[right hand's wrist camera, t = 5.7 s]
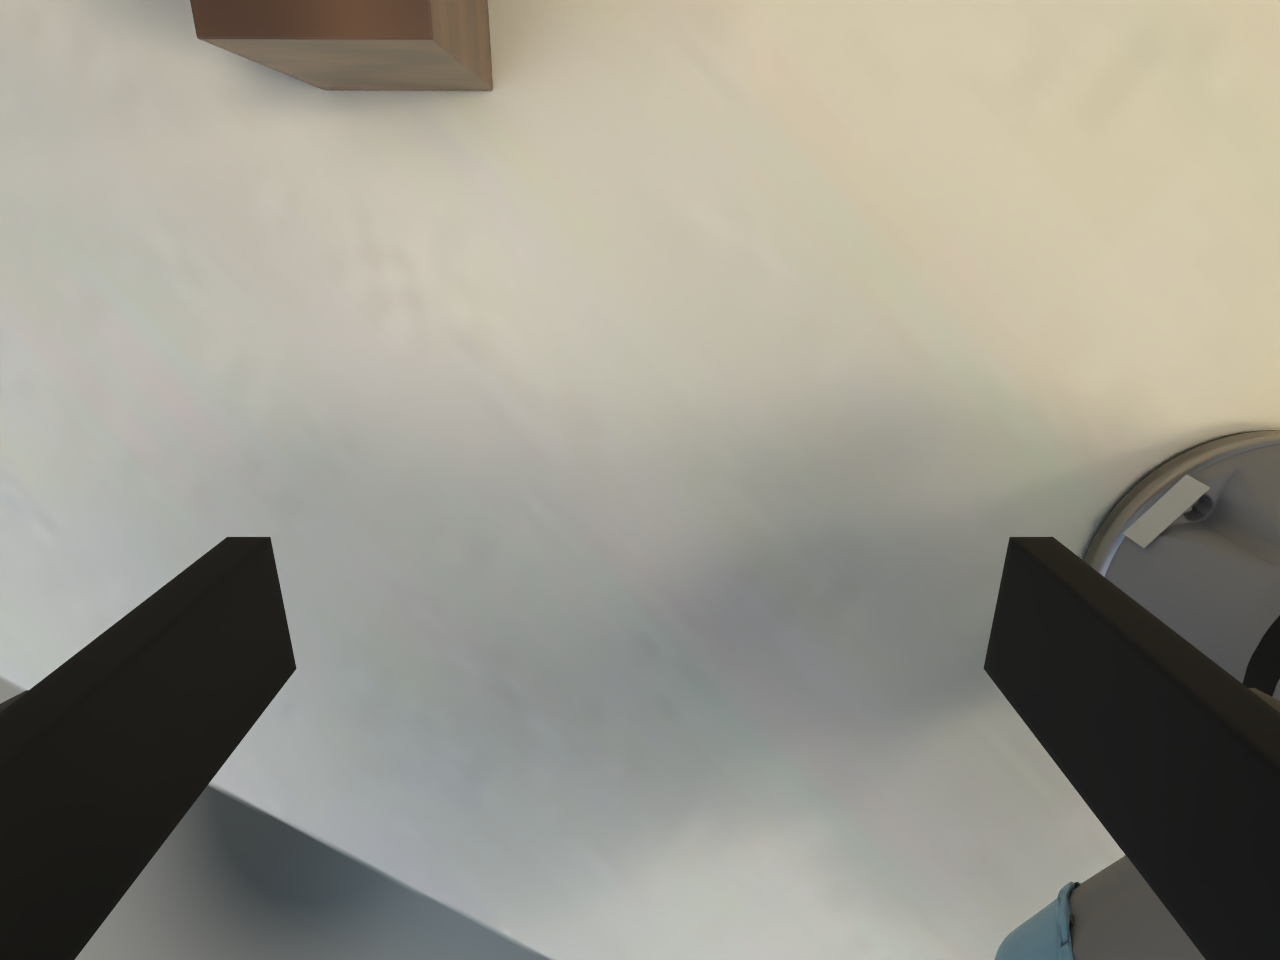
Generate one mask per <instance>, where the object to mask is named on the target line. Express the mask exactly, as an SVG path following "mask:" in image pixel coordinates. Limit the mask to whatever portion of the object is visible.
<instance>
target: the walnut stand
mask: <svg viewBox="0 0 1280 960" xmlns="http://www.w3.org/2000/svg"><path fill="white" fill-rule="evenodd" d="M190 2H191V7H192V13H193V18H194V23H195V29H196V34H197V38H198V39H200V40H203V41H205V42H208V43H210V44H213V45H215V46H217V47H220V48H222V49H225V50H227V51H230V52H232V53H235V54H237V55H240V56H242V57H245V58H247V59H250V60H252V61H254V62H257V63H259V64H262V65H264V66H267V67H269V68H272V69H274V70H277V71H279V72H282V73H284V74H286V75H289V76H291V77H294V78H296V79H299V80H301V81H304V82H306V83H309V84H311V85H314V86H316V87H318V88H321V89H323V90H412V91H492V90H493V83H492V66H491V50H490V33H489V16H488V0H190Z"/></svg>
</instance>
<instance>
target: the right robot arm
mask: <svg viewBox="0 0 1280 960" xmlns="http://www.w3.org/2000/svg"><path fill="white" fill-rule="evenodd" d="M295 670H296V665H295V660H294V655H293V649H292V644H291V639H290V634H289V629H288V624H287V619H286V614H285V609H284V604H283V599H282V594H281V589H280V584H279V579H278V574H277V569H276V564H275V559H274V553H273V548H272V543H271V538H270V537H227V538H225V539H224V540H223V541H221V542H220V543H219V544H218V545H216V546H215V547H214V548H212V549H211V550H210V551H209V552H207V553H206V554H205V555H203V556H202V557H201V558H199V559H198V560H197V561H196V562H194V563H193V564H192V565H190V566H189V567H188V568H187V569H185V570H184V571H183V572H181V573H180V574H179V575H178V576H176V577H175V578H174V579H172V580H171V581H170V582H168V583H167V584H166V585H165V586H163V587H162V588H161V589H159V590H158V591H157V592H156V593H154V594H153V595H152V596H150V597H149V598H148V599H147V600H145V601H144V602H143V603H141V604H140V605H139V606H137V607H136V608H135V609H134V610H132V611H131V612H130V613H128V614H127V615H126V616H125V617H123V618H122V619H121V620H119V621H118V622H117V623H115V624H114V625H113V626H112V627H110V628H109V629H108V630H106V631H105V632H104V633H103V634H101V635H100V636H99V637H97V638H96V639H95V640H94V641H92V642H91V643H90V644H88V645H87V646H86V647H84V648H83V649H82V650H81V651H79V652H78V653H77V654H75V655H74V656H73V657H72V658H70V659H69V660H68V661H66V662H65V663H64V664H63V665H61V666H60V667H59V668H57V669H56V670H55V671H53V672H52V673H51V674H50V675H48V676H47V677H46V678H44V679H43V680H42V681H41V682H39V683H38V684H37V685H35V686H34V687H33V688H31V689H30V690H26V691H24V692H22V693H21V694H19V695H17V696H15V697H13V698H11V699H9V700H7V701H5V702H3V703H1V704H0V960H75V958H76V957H77V956H78V954H79V953H80V952H81V950H82V949H83V948H84V946H85V945H86V944H87V942H88V941H89V940H90V939H91V937H92V936H93V935H94V933H95V932H96V931H97V929H98V928H99V927H100V925H101V924H102V923H103V921H104V920H105V919H106V918H107V916H108V915H109V914H110V912H111V911H112V910H113V908H114V907H115V906H116V904H117V903H118V902H119V901H120V899H121V898H122V897H123V895H124V894H125V893H126V891H127V890H128V889H129V887H130V886H131V885H132V883H133V882H134V881H135V880H136V878H137V877H138V876H139V874H140V873H141V872H142V870H143V869H144V868H145V866H146V865H147V864H148V862H149V861H150V860H151V859H152V857H153V856H154V855H155V853H156V852H157V851H158V849H159V848H160V847H161V845H162V844H163V843H164V841H165V840H166V839H167V838H168V836H169V835H170V834H171V832H172V831H173V830H174V828H175V827H176V826H177V824H178V823H179V822H180V820H181V819H182V818H183V817H184V815H185V814H186V813H187V811H188V810H189V809H190V807H191V806H192V805H193V803H194V802H195V801H196V799H197V798H198V797H199V796H200V794H201V793H202V792H203V790H204V789H205V788H206V786H207V785H208V784H209V782H210V781H211V780H212V778H213V777H214V776H215V775H216V773H217V772H218V771H219V769H220V768H221V767H222V765H223V764H224V763H225V761H226V760H227V759H228V757H229V756H230V755H231V754H232V752H233V751H234V750H235V748H236V747H237V746H238V744H239V743H240V742H241V740H242V739H243V738H244V737H245V735H246V734H247V733H248V731H249V730H250V729H251V727H252V726H253V725H254V723H255V722H256V721H257V719H258V718H259V717H260V716H261V714H262V713H263V712H264V710H265V709H266V708H267V706H268V705H269V704H270V702H271V701H272V700H273V698H274V697H275V696H276V695H277V693H278V692H279V691H280V689H281V688H282V687H283V685H284V684H285V683H286V681H287V680H288V679H289V677H290V676H291V675H292V674H293V672H294V671H295ZM984 670H985V671H986V672H987V674H988V675H989V676H990V677H991V679H992V680H993V681H994V683H995V684H996V685H997V687H998V688H999V689H1000V691H1001V692H1002V693H1003V695H1004V696H1005V697H1006V698H1007V700H1008V701H1009V702H1010V704H1011V705H1012V706H1013V708H1014V709H1015V710H1016V712H1017V713H1018V714H1019V716H1020V717H1021V718H1022V719H1023V721H1024V722H1025V723H1026V725H1027V726H1028V727H1029V729H1030V730H1031V731H1032V733H1033V734H1034V735H1035V737H1036V738H1037V739H1038V740H1039V742H1040V743H1041V744H1042V746H1043V747H1044V748H1045V750H1046V751H1047V752H1048V754H1049V755H1050V756H1051V757H1052V759H1053V760H1054V761H1055V763H1056V764H1057V765H1058V767H1059V768H1060V769H1061V771H1062V772H1063V773H1064V775H1065V776H1066V777H1067V778H1068V780H1069V781H1070V782H1071V784H1072V785H1073V786H1074V788H1075V789H1076V790H1077V792H1078V793H1079V794H1080V796H1081V797H1082V798H1083V799H1084V801H1085V802H1086V803H1087V805H1088V806H1089V807H1090V809H1091V810H1092V811H1093V813H1094V814H1095V815H1096V817H1097V818H1098V819H1099V820H1100V822H1101V823H1102V824H1103V826H1104V827H1105V828H1106V830H1107V831H1108V832H1109V834H1110V835H1111V836H1112V838H1113V839H1114V840H1115V841H1116V843H1117V844H1118V845H1119V847H1120V848H1121V849H1122V851H1123V852H1124V853H1125V855H1126V856H1124V857H1123V858H1121V859H1119V860H1118V861H1116V862H1115V863H1113V864H1112V865H1110V866H1108V867H1107V868H1105V869H1104V870H1102V871H1100V872H1099V873H1097V874H1096V875H1094V876H1093V877H1091V878H1089V879H1088V880H1086V881H1085V882H1083V883H1082V884H1081V883H1078V882H1076V883H1073V882H1070V883H1069V884H1067V885H1065V886H1064V887H1063V888H1062V889H1061V890H1060V892H1059V895H1058V898H1057V899H1056V900H1055V901H1053V902H1052V903H1050V904H1049V905H1048V906H1046V907H1045V908H1044V909H1042V910H1041V911H1039V912H1038V913H1037V914H1035V915H1034V916H1033V917H1031V918H1030V919H1029V920H1027V921H1026V922H1024V923H1023V924H1022V925H1020V926H1019V927H1018V928H1016V929H1015V930H1014V931H1012V932H1011V933H1010V934H1009V935H1008V936H1007V937H1006V938H1005V939H1004V941H1003V942H1002V944H1001V945H1000V947H999V949H998V951H997V954H996V957H995V960H1280V431H1257V432H1249V433H1242V434H1237V435H1233V436H1228V437H1224V438H1221V439H1218V440H1214V441H1211V442H1208V443H1206V444H1203V445H1201V446H1198V447H1196V448H1193V449H1191V450H1189V451H1187V452H1185V453H1183V454H1181V455H1179V456H1177V457H1175V458H1174V459H1172V460H1170V461H1168V462H1167V463H1165V464H1163V465H1162V466H1161V467H1159V468H1158V469H1156V470H1155V471H1153V472H1152V473H1150V474H1149V475H1148V476H1147V477H1145V478H1144V479H1143V480H1142V481H1140V482H1139V483H1138V484H1137V485H1136V486H1135V487H1134V488H1132V489H1131V490H1130V491H1129V492H1128V493H1127V494H1126V495H1125V496H1124V497H1123V498H1122V499H1121V501H1120V502H1119V503H1118V504H1117V505H1116V506H1115V507H1114V508H1113V510H1112V511H1111V512H1110V514H1109V515H1108V516H1107V518H1106V519H1105V520H1104V522H1103V523H1102V525H1101V526H1100V528H1099V529H1098V531H1097V533H1096V534H1095V536H1094V538H1093V540H1092V542H1091V544H1090V546H1089V548H1088V551H1087V553H1086V556H1085V558H1084V561H1083V560H1082V559H1081V558H1079V557H1078V556H1077V555H1075V554H1074V553H1073V552H1071V551H1070V550H1069V549H1068V548H1066V547H1065V546H1064V545H1062V544H1061V543H1060V542H1059V541H1057V540H1056V539H1055V538H1053V537H1010V538H1009V543H1008V548H1007V553H1006V559H1005V564H1004V569H1003V574H1002V579H1001V584H1000V589H999V594H998V599H997V604H996V609H995V614H994V619H993V624H992V629H991V634H990V639H989V644H988V649H987V655H986V660H985V665H984Z"/></svg>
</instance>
